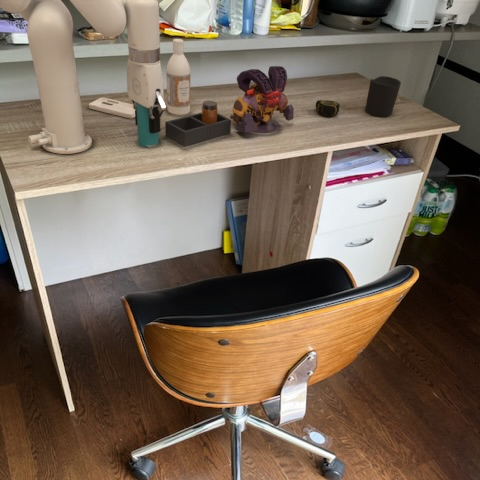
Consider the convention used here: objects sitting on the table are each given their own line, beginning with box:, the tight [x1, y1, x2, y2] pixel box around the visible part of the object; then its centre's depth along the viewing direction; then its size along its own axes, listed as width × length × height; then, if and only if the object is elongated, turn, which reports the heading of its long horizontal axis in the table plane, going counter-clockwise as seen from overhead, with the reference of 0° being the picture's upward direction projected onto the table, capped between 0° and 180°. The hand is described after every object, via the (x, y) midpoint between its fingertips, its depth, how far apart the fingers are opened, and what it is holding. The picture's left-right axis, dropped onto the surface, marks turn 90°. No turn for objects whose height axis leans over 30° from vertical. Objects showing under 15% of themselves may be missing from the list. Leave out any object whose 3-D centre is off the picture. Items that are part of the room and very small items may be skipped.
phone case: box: [88, 96, 135, 119], centre depth 158 cm, size 7×1×15 cm
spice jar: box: [201, 100, 219, 125], centre depth 147 cm, size 4×4×8 cm
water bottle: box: [136, 102, 160, 149], centre depth 137 cm, size 5×5×15 cm
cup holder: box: [164, 112, 232, 148], centre depth 146 cm, size 16×9×5 cm, turn 133°
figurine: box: [229, 65, 295, 134], centre depth 150 cm, size 20×14×17 cm
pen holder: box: [364, 75, 402, 118], centre depth 169 cm, size 9×9×10 cm
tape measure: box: [315, 99, 341, 117], centre depth 167 cm, size 7×7×4 cm
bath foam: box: [165, 38, 191, 115], centre depth 154 cm, size 7×7×20 cm
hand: (148, 127), depth 139 cm, fingers closed on water bottle, 5 cm apart
